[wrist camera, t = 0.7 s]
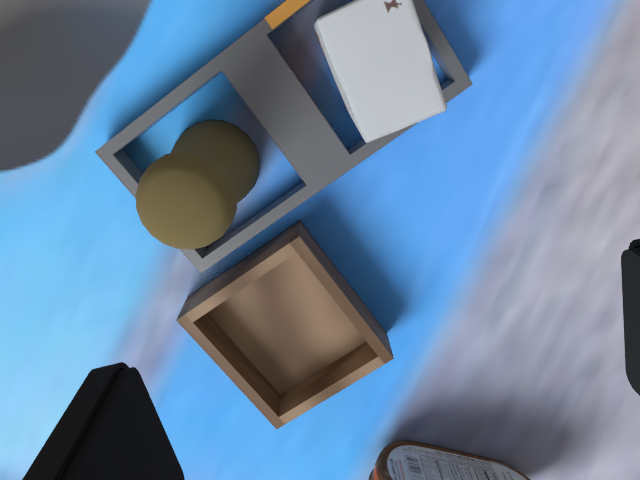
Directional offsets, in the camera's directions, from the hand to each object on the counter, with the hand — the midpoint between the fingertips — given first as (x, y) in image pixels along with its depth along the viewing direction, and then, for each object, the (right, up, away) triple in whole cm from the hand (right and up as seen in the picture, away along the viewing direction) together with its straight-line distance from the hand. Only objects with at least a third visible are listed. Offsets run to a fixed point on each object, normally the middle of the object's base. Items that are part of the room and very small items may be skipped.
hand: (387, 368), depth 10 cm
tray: (-4, -3, +31) cm, 31 cm away
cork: (-9, +8, +27) cm, 29 cm away
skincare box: (+1, +14, +25) cm, 28 cm away
